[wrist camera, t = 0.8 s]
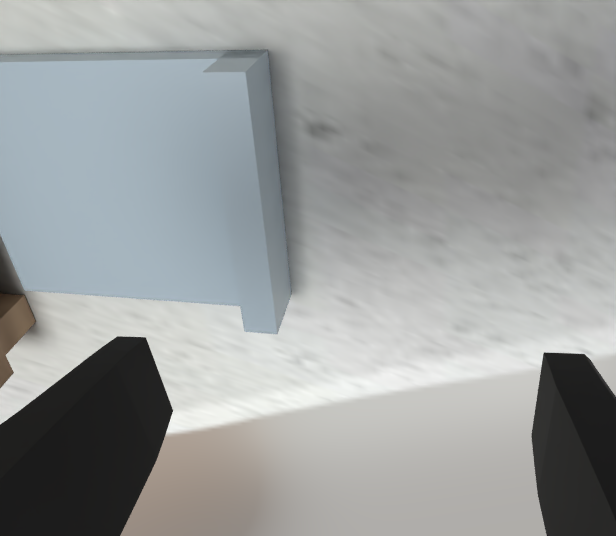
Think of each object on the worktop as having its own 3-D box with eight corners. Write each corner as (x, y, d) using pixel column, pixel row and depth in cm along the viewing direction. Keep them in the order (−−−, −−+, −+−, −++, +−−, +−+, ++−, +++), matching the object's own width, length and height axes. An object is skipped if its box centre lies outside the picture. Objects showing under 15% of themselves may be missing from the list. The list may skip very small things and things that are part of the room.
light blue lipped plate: (269, 47, 17) (245, 72, 14) (292, 290, 22) (277, 334, 20) (-48, 53, 19) (-109, 75, 17) (41, 273, 24) (2, 311, 22)
